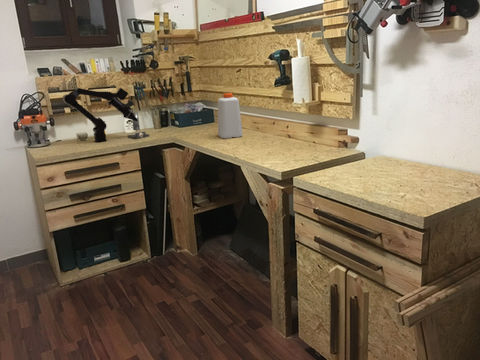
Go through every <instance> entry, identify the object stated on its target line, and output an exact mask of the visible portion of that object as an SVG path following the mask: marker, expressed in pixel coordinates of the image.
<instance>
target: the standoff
mask: <svg viewBox="0 0 480 360" xmlns="http://www.w3.org/2000/svg"><path fill="white" fill-rule="evenodd" d="M133 115H134V116H135V117H136V118H137V120H138V121H134V120H131V121H132V128H133V129H132V130H133V131H140V130H141V127H140V122H139V121H140V120H139V112H137V111H136V112H135V111H133Z"/></svg>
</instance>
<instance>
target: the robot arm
mask: <svg viewBox="0 0 480 360" xmlns="http://www.w3.org/2000/svg"><path fill="white" fill-rule="evenodd" d="M81 95H84V96H89V97H90V96H91V97H95V98H100V99H103V100H106V101H107V105H108V107H110V106H113V108H115V109H116V110H117V112H120V113H121V114H122V116H123V118H124V119H129V120H131V121H132V120H134V121H138V120H137V118H136V117H135V116H134V115H133V112H134V110H133V108H132V107H133V106H135V102H134V100H131V99H128V100H127V102H126V103H125V102H122V101H124V100H125V99H126V98H127V97H128V95H129V93H128V91H126V90H125V89H123V88H122V87H120V88H118V90H117V91H116V92H114V93H113V92H111V91H108V90H105V91H104V90H103V91H98V90H97V91H96V90H91V89H86V88H85V89H84V88H81V87H76V88H75V89H74V90H72V91H71V92H69V93H67V94H66V93H65V94H64V95H63V96H62V101H63V102H64V103H65V104H67V105H68V106H70V107H72V108H74V110H75V109H76V111H78V112H79V113H80V114H82V116H84V117H85V118H86V119H88V120H89V121H90V122H91V123H92V124H93V126H94V127H93V128H92V131H93V136H94V140H93V142H95V143H103V142H107V141H108V140H107V135H106V133H105V130H106V129H107V123H106V121H104V120H103V119H102V118H101V117H99V116H98V117H95V115H93V113H91V112H90V111H88V110H87V109H86V108H85V107H84V106H82V105H81V104H80V103H79V102H78V101H77V100H76V99H77V98H78V97H79V96H81Z"/></svg>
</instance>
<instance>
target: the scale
mask: <svg viewBox="0 0 480 360" xmlns="http://www.w3.org/2000/svg"><path fill="white" fill-rule="evenodd" d="M138 132H139V133H135V132H134V133H135V135H131V134H127V135H126V136H127V138H129V139H133V140H139V139H140V140H141V139H145V138H147V137H150V134H149V133H146V131H138Z"/></svg>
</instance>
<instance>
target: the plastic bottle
mask: <svg viewBox="0 0 480 360" xmlns="http://www.w3.org/2000/svg"><path fill="white" fill-rule="evenodd" d="M233 95H234V94H233V93H231V92H229V93H228V92H227V93H223V97H219V98H218V100H217V135H218V136H219V137H220V138H221V139H232V137H235V138H241V137H242V136H243V135H244V133H243V126H242V117H241V109H240V100H239V98H237V97H236V96H235V97H234V96H233Z"/></svg>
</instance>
